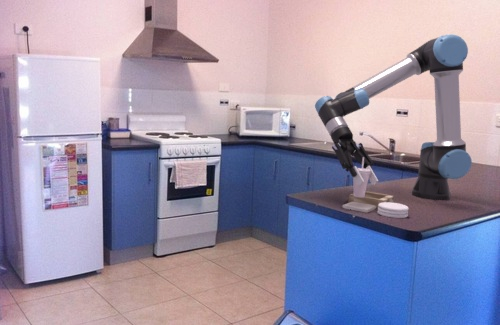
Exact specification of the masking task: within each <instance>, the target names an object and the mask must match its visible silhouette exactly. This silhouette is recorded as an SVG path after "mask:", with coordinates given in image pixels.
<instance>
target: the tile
mask: <svg viewBox="0 0 500 325" xmlns="http://www.w3.org/2000/svg"><path fill="white" fill-rule="evenodd" d="M342 208H343V209H345V210H350V209H351V211H356V212H361V213H370V212H372V211H375V210H376V209H377V208H376V206H374V205H369V204H363V203H357V202H350V203H345V204H342Z"/></svg>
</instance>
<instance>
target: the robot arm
mask: <svg viewBox="0 0 500 325" xmlns="http://www.w3.org/2000/svg"><path fill="white" fill-rule="evenodd" d="M468 49H469V48H468V44H467V42H466V41H465V40H464V39H463V38H462V37H461V36H459V35H456V34H444V35H441V36H439V37H436V38H432V39H429V40H428V41H426V42H424V43H423V44H422V45H420V46H419V47H418V48H416V49H414V50H413V51H410V52H409V53H408V54H407V55H406V57H405V58H404V59H402V60H400V61H398V62H396V63H394V64H392V65H391V66H388V67H387V68H385V69H383V70H381V71H379V72H378V73H376V74H373V75H372V76H369V77H368V78H367V79H365V80H363V81H360V82H359V83H358V84H356V85H354V86H352V87H350V88H348V89H347V90H345V91H341V92H340V93H338V94H337V95H336V96H335V97H334V98H333V97H331V96H330V95H326V96H322V97H319V99H317V101H315V104H314V109H315V110H316V113H317V114H318V117H319V119H320V120H321V122H322V124H323V125H324V127H325V129H326V131H327V133H328V134H329V136H330V139H331V141H332V142H333V145H332V146H331V149H332V150H333V151H334V153H335V156H336V157H337V159H338V161H339V164H340V165H341V167H342V169H344V170H345V171H346V172H349V173H350V175H351V177H352V178H353V177H354V179H355V181H356V183H357V185H358V186H360V185H361V184H362V183H363V182H364V180H363V178H362V176H361V174H360V173H359V171H358V169H357V168H358V167H357V166H356V165H354V162H353V159H352V157H353V158H355V159H356V161H358V163H359V164H360V165H361V166H362V159H363V157H364V165H363V168H364V169H369V170H371V173H370V175H369V179H368V181H369V182H370V184H371V185H372V186H374V185H376V184H377V183H378V182H379V179H378V177H377V176H376V174H375V171H374V170H373V168H372V166H373V165H374V161H373V160H372V159H371V157H370V155H369V154H368V152H367V151H366V149H365V148H364V146H363V143H362V142H359V143H357V142H356V141H355V140H354V139H353V138H354V134H353V131H352V130H351V129H350V127H349V125H348V123H347V121H346V120H345V119H344V117H346V116H348V115H350V114H352V113H354V112H357V111H360V110H361V109H362V110H363V109H364V108H366V107H367V106H369V104H370V99H371V98H374V97H375V96H378V95H379V94H381V93H383V92H385V91H387V90H388V89H390V88H392V87H394V86H396V85H397V84H399V83H401V82H403V81H405V80H407V79H409V78H411V77H412V76H414V75H417V76H420V75H422V74H423V73H426V72H428V71H429V75H431V76H432V77H433V81H434V82H433V83H434V101H435V103H434V104H435V122H436V123H435V125H436V140H435V141H434V142H432V141H431V142H430V141H426V142H423V143H422V144H421V148H420V150H419V151H420V155H419V163H418V165H419V166H418V174H417V178H416V181H415V183H414V185H413V187H412V189H411V190H412V191H411V195H412V196H413V197H416V198H418V199H425V200H430V201H431V200H433V201H449V200H451V192H450V187H449V180H450V179H451V180H458V179H462V178H463V177H465V176H466V175H467V174H468V173H469V172H470V170H471V168H472V158H471V156H470V154H469V153H468V152H467V147H466V145H467V144H466V141H464V140H463V138H462V127H461V103H460V101H461V100H460V99H461V97H460V75H461V73H462V72H463V71H464V62H465V60H466V59H467V57H468V54H469V50H468ZM448 179H449V180H448Z"/></svg>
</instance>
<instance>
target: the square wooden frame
mask: <svg viewBox="0 0 500 325" xmlns="http://www.w3.org/2000/svg"><path fill="white" fill-rule="evenodd" d="M348 202H349V203H350V202H357V203H363V204H369V205H374V206H376V209H378V204H379V203H383V202H391V203H395V195H391V194H387V193H386V194H385V193H379V192H374V191H368V190H366V192H365V197H362V198H361V197H355V196H354V192H353V193H350V194H349V195H348Z"/></svg>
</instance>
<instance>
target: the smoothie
mask: <svg viewBox="0 0 500 325" xmlns="http://www.w3.org/2000/svg"><path fill="white" fill-rule="evenodd" d="M363 165H364V157H363V159H362V165H361V168H360V167H357V169H358V171H359V173H360V174H361V176H362V178H363V180H364V182H363V183H362V184H361V185H360V186H358V185H357V183H356V181H355V179H354V177H353V176H352V182H353V183H352V184H353V185H352V186H353V193H354V196H355V197H361V198H362V197H365V192H366V191H367V187H368V183H369V175H370V173H371V170H369V169H365V168H364V167H363Z"/></svg>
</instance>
